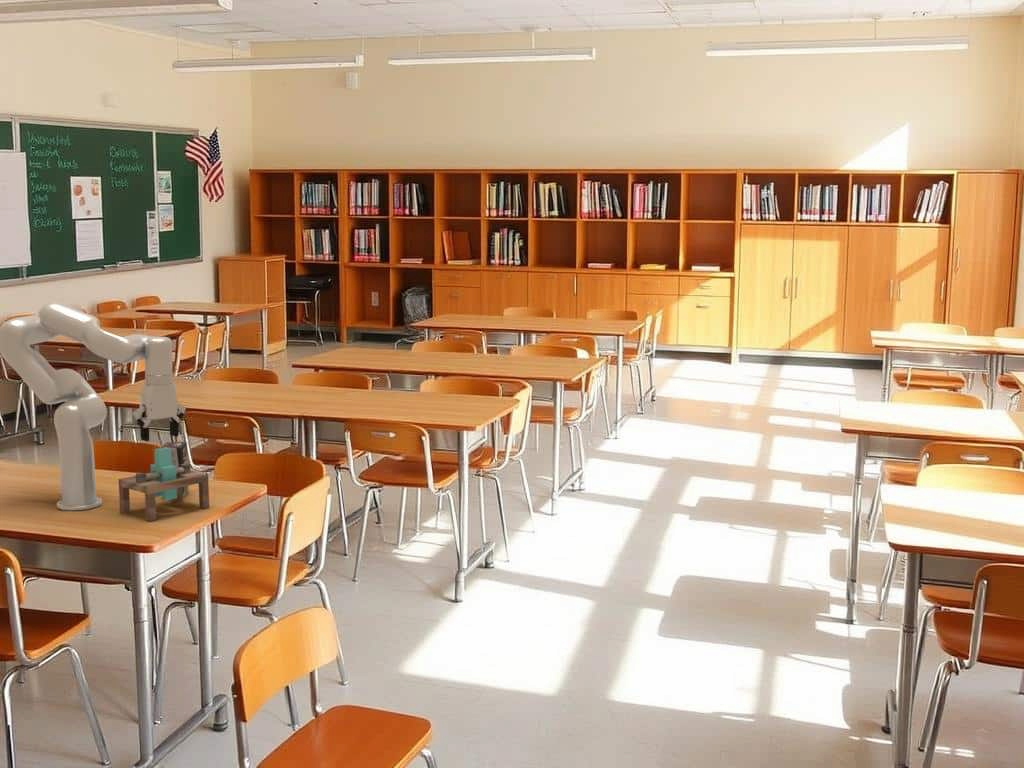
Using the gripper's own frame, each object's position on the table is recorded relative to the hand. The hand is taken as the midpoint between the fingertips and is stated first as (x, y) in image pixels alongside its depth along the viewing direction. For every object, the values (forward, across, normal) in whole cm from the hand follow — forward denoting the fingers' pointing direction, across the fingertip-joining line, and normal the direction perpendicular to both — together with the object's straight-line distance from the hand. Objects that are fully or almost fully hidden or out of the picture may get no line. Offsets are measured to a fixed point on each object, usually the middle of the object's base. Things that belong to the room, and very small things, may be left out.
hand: (159, 438), depth 329 cm
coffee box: (+22, -13, -11) cm, 27 cm away
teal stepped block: (+18, 0, +1) cm, 18 cm away
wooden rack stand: (+22, -1, +1) cm, 22 cm away
